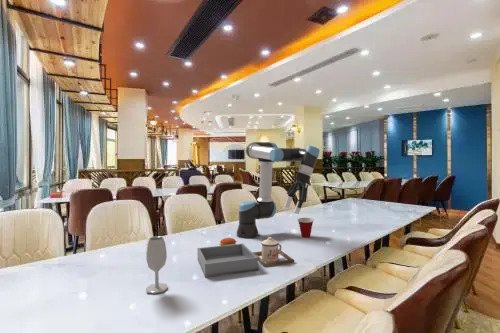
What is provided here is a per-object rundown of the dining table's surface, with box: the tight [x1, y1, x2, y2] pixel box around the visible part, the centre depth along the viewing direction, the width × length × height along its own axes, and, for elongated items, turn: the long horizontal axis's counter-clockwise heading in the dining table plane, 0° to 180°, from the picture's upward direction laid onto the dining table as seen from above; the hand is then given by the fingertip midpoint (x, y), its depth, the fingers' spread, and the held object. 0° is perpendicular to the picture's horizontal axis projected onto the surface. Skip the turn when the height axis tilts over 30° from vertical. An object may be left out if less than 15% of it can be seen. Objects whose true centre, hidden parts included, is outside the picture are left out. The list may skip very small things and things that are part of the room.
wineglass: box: [145, 235, 169, 295], centre depth 117 cm, size 9×9×21 cm
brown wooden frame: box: [251, 248, 295, 268], centre depth 153 cm, size 18×16×2 cm
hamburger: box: [218, 237, 238, 246], centre depth 170 cm, size 9×10×7 cm
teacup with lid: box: [260, 236, 282, 263], centre depth 152 cm, size 12×9×12 cm
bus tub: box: [196, 243, 259, 278], centre depth 145 cm, size 25×25×6 cm
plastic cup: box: [297, 217, 315, 239], centre depth 196 cm, size 11×11×12 cm
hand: (291, 210), depth 158 cm, fingers open, 13 cm apart
